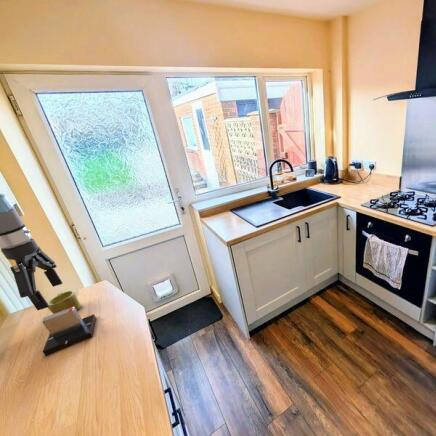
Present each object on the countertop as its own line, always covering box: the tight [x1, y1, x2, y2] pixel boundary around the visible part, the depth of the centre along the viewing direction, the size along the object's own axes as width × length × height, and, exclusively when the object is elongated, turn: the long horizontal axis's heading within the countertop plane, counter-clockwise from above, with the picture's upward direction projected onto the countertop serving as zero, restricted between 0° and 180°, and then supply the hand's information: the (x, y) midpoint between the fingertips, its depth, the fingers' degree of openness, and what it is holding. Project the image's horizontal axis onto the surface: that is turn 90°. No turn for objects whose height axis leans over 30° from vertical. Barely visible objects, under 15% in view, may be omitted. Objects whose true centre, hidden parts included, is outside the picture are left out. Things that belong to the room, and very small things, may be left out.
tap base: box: [42, 314, 98, 357], centre depth 94 cm, size 14×13×3 cm
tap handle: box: [41, 307, 85, 339], centre depth 92 cm, size 9×2×9 cm, turn 120°
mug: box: [47, 290, 82, 314], centre depth 107 cm, size 12×10×10 cm
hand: (51, 295), depth 85 cm, fingers open, 13 cm apart
